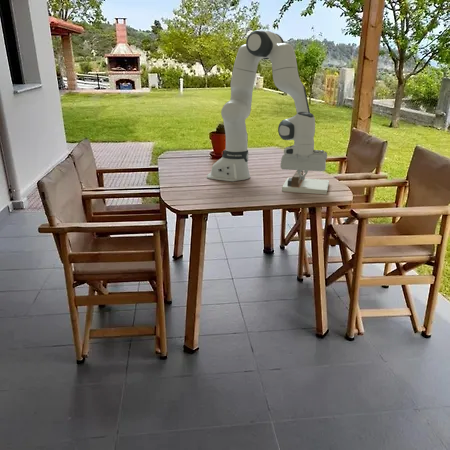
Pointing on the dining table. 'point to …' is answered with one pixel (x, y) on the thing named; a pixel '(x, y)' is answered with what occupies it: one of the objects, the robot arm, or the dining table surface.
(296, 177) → the stool leg
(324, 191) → the board
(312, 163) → the robot arm
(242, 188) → the dining table surface
